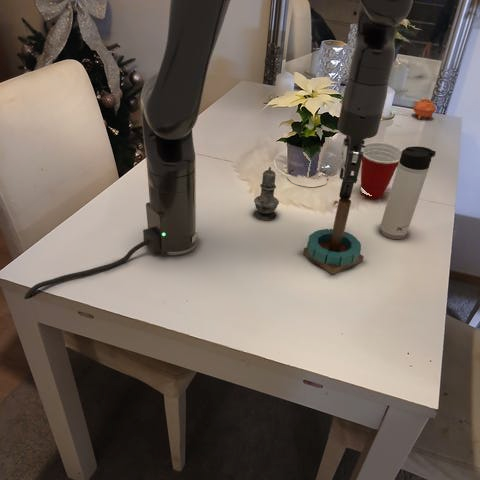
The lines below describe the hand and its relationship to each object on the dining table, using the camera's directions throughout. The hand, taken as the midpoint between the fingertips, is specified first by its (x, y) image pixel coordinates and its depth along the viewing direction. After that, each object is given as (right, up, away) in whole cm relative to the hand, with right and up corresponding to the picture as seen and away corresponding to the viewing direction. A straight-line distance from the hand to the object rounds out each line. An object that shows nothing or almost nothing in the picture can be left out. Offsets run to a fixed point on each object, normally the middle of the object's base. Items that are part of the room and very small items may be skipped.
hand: (344, 188), depth 98 cm
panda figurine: (-3, +12, +33) cm, 36 cm away
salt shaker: (-15, -2, +17) cm, 23 cm away
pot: (+45, +47, +77) cm, 101 cm away
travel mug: (+15, -7, +14) cm, 21 cm away
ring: (-2, -12, +4) cm, 13 cm away
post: (-2, -14, +4) cm, 15 cm away
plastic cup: (+13, +6, +28) cm, 31 cm away
